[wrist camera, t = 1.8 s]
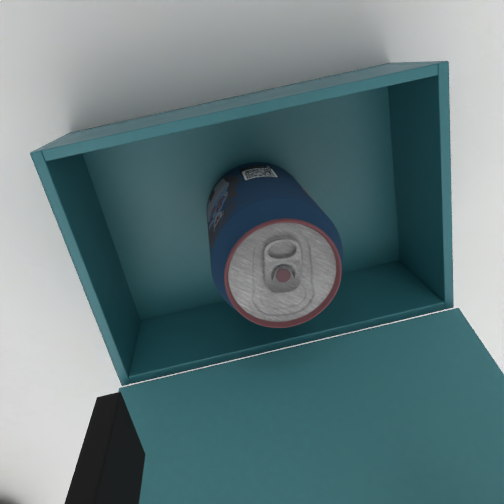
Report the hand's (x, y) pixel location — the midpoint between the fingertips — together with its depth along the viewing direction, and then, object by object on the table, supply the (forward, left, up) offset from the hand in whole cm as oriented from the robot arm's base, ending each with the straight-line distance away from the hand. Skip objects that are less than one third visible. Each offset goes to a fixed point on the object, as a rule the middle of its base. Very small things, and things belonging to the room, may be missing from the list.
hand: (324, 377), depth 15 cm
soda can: (0, 0, -20) cm, 20 cm away
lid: (+10, 0, -4) cm, 11 cm away
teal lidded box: (0, 0, -20) cm, 20 cm away
